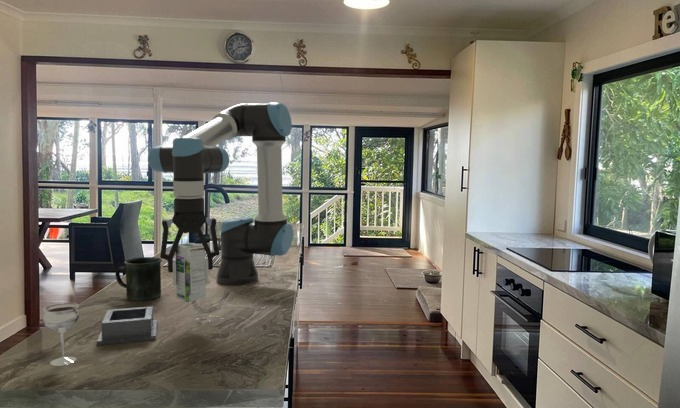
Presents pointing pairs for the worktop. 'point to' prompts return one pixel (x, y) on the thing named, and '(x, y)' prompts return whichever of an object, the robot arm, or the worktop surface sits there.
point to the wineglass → (61, 325)
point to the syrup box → (190, 272)
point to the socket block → (128, 326)
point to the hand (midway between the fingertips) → (191, 282)
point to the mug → (141, 278)
